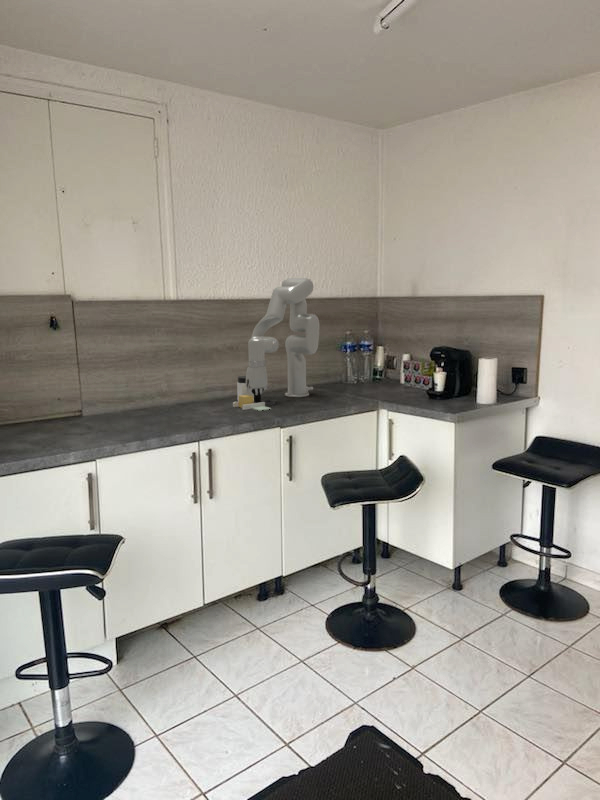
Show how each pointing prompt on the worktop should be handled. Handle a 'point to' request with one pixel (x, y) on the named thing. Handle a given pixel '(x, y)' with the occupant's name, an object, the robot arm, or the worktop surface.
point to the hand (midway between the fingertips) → (257, 402)
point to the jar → (242, 387)
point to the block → (245, 400)
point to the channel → (249, 405)
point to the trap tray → (269, 402)
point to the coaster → (261, 408)
